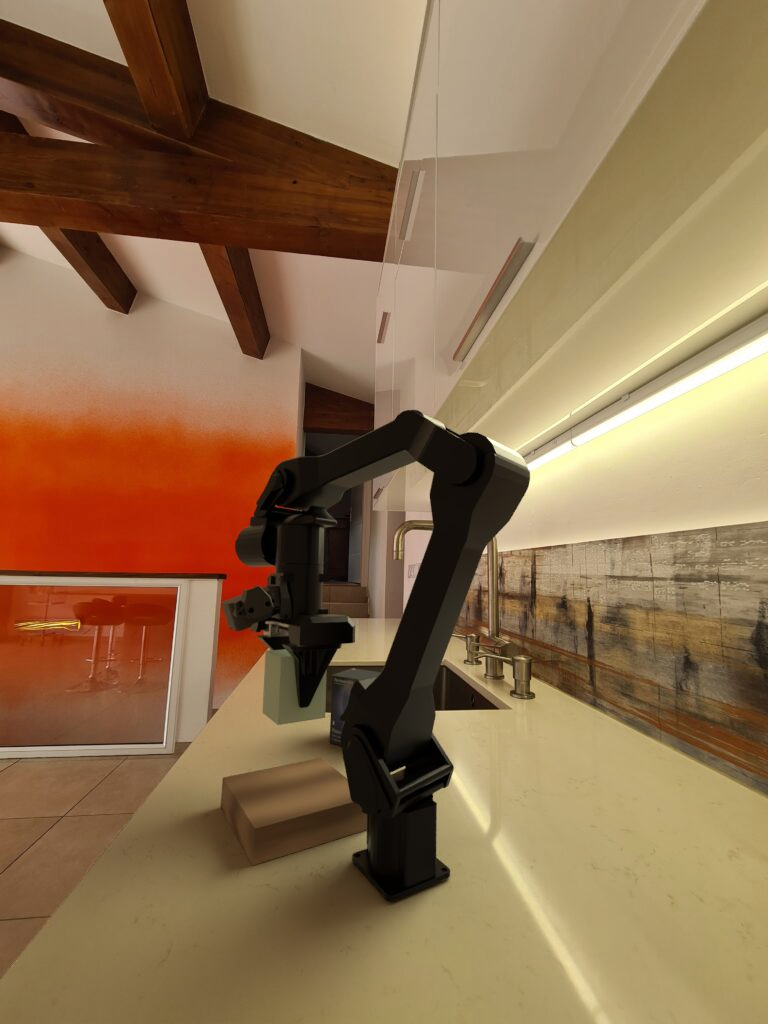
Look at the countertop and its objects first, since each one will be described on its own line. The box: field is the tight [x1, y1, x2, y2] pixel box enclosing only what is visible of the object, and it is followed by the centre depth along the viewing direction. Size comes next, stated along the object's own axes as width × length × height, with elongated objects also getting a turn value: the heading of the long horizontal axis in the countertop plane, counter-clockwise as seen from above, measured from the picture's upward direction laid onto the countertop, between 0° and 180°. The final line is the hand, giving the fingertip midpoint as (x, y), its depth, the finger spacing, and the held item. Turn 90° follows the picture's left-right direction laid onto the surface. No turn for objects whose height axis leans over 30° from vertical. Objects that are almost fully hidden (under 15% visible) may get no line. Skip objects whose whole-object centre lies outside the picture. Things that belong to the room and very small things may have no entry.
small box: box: [328, 667, 382, 747], centre depth 71 cm, size 11×6×10 cm, turn 62°
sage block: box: [262, 649, 328, 726], centre depth 53 cm, size 6×6×7 cm
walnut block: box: [220, 757, 367, 866], centre depth 48 cm, size 12×12×3 cm
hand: (294, 701), depth 52 cm, fingers closed on sage block, 5 cm apart
